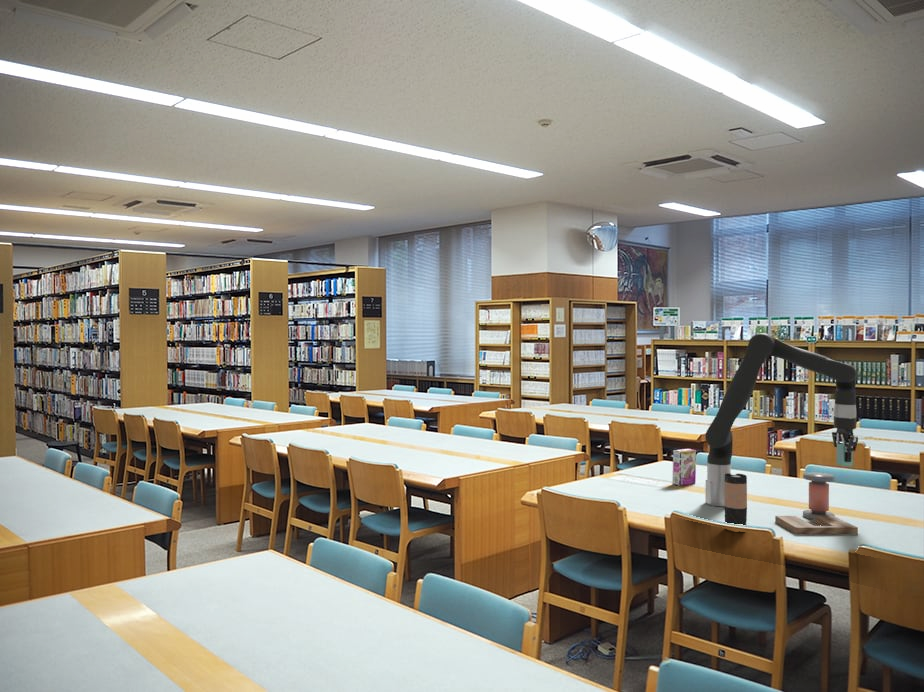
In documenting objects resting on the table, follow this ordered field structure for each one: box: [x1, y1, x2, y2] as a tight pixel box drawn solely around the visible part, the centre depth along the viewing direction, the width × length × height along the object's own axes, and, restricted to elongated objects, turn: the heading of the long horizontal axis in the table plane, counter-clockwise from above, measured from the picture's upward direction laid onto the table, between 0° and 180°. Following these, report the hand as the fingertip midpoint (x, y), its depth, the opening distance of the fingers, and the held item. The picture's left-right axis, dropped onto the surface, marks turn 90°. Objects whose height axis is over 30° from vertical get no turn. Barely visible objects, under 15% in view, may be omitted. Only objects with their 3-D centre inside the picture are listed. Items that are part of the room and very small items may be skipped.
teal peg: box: [835, 443, 854, 467], centre depth 261 cm, size 4×4×8 cm
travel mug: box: [723, 473, 748, 526], centre depth 249 cm, size 8×8×20 cm
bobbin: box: [802, 471, 836, 521], centre depth 265 cm, size 11×11×16 cm
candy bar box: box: [671, 448, 697, 487], centre depth 326 cm, size 11×5×16 cm, turn 122°
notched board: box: [774, 515, 859, 535], centre depth 251 cm, size 22×16×2 cm
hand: (844, 460), depth 261 cm, fingers closed on teal peg, 4 cm apart
